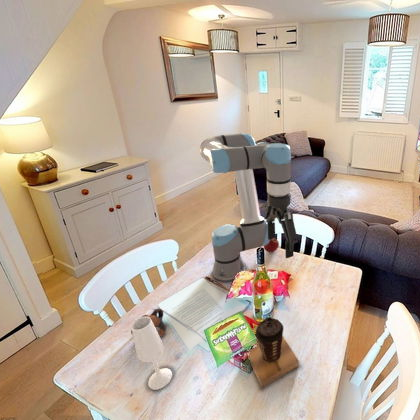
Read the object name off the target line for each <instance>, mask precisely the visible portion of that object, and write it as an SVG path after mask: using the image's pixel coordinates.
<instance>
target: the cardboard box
mask: <svg viewBox="0 0 420 420" xmlns="http://www.w3.org/2000/svg"><path fill="white" fill-rule="evenodd" d="M257 343H258V342H257ZM257 343H256V344H257ZM249 352H250V353H249ZM249 352H248V353H249V358H250V361H251V364H252V365H251V364H250V366H251V368H252V370H253V372H254V375H255V376H256V378H257V381H258V383H259V385H260V387H261V388H262V389H263V388H265V387H266V386H268V385H270V384H271V383H273V382H275V381H276V380H278V379H280V378H282V377H283V376H285V375H287V374H288V373H291V372H292V371H293V370H295V369H296V368H298V367H299V364H300V363H299V359H298V357H297V356H296V354H295V352H294V351H293V350H292V348H291V346H290V345H289V343H288V342H287V339H285V337H284V336H283V337H282V348H281V355H280V358H279V359H278V360H277V361H276V362H273V363H266V362H264V361H263V359H262V356H261V351H260V347H259V343H258V344H257V347H255V348H252V349H250V350H249Z"/></svg>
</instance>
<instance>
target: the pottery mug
mask: <svg viewBox="0 0 420 420" xmlns="http://www.w3.org/2000/svg"><path fill="white" fill-rule="evenodd" d="M145 316H147V317H150V318H151V320H152V322H153V324H154V326H155V328H156V329H157V328H159V331H157V332H158V334H159V336H160V338H162V337H163V336H164V334H165V333H166V329H167V326H166V324H165V323H164V321H163V317H164V310H163V309H162V308H156V309H154V310H153V311H152V312H151V313H150V314H143V315H142V316H140V317H139V318H141V317H145ZM130 334H131V335H132V336H133V333H132V328H131V330H130Z"/></svg>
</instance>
